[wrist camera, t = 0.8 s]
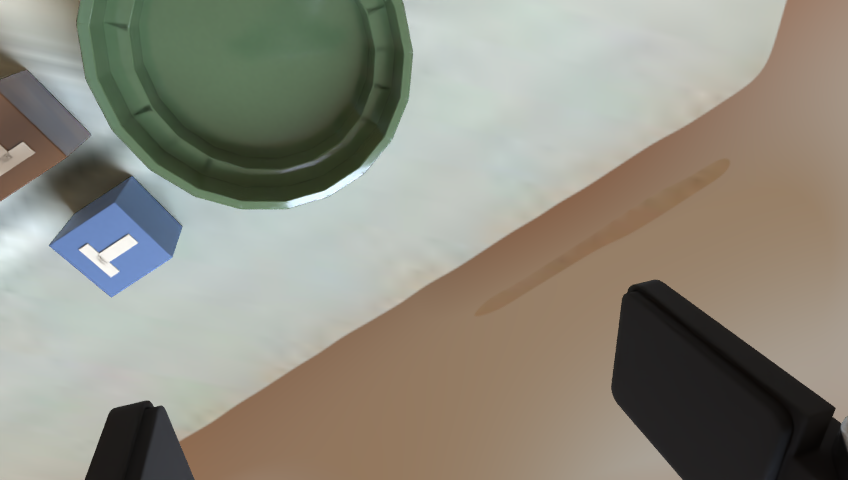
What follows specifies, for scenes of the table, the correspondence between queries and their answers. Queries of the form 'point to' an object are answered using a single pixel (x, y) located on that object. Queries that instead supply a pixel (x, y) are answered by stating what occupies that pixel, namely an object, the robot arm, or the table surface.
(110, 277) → the periwinkle blue block
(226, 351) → the table surface
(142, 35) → the faceted green bowl
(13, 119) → the walnut block
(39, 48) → the table surface
